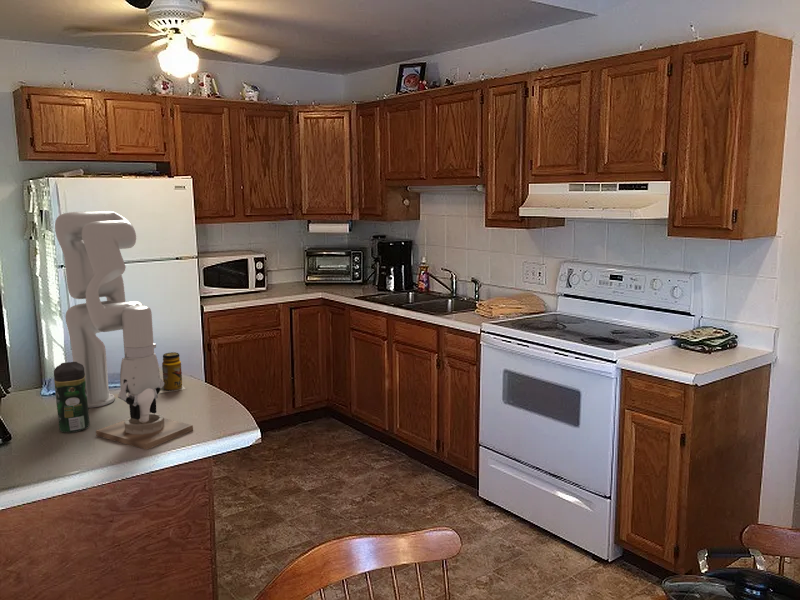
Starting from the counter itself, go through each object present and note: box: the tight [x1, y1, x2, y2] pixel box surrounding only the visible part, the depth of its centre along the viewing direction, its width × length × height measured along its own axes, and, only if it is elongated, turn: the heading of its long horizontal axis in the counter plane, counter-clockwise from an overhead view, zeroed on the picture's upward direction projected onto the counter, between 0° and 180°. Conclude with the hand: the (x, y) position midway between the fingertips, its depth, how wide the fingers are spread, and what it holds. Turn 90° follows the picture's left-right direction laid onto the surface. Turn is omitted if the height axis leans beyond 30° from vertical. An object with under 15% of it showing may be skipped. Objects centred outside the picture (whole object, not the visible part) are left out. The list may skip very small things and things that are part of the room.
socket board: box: [95, 412, 194, 450], centre depth 186 cm, size 20×16×4 cm
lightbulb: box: [132, 388, 154, 423], centre depth 185 cm, size 6×6×11 cm
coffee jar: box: [53, 361, 90, 433], centre depth 189 cm, size 10×8×19 cm
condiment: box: [158, 351, 187, 394], centre depth 225 cm, size 7×8×12 cm
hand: (143, 414), depth 185 cm, fingers closed on lightbulb, 4 cm apart
